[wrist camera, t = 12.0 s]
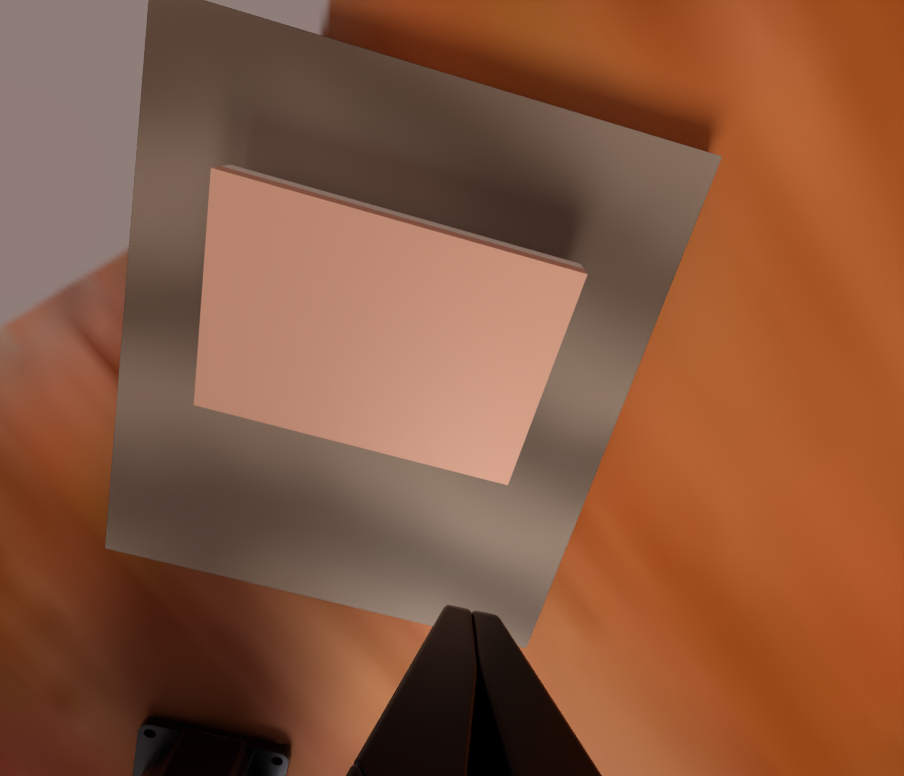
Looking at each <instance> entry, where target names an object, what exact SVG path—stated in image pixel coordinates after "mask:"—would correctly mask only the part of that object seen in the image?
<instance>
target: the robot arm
mask: <svg viewBox="0 0 904 776" xmlns="http://www.w3.org/2000/svg"><path fill="white" fill-rule="evenodd" d="M290 758H291V751H290V749H289V748H288V747H287V746H285V745H282V744H277V743H273V742H268V741H264V740H259V739H255V738H250V737H245V736H241V735H236V734H232V733H227V732H223V731H218V730H214V729H209V728H205V727H200V726H195V725H191V724H186V723H182V722H177V721H173V720H168V719H164V718H159V717H152V716H151V717H147V718H146V719H145V720H144V721H143V723H142V724H141V726H140V728H139V730H138V736H137V744H136V753H135V761H134V770H133V776H286V774H287V770H288V766H289V762H290ZM346 776H602V775H601V774H600V772H599V771H598V769H597V768H596V766H595V764H594V763H593V761H592V760H591V758H590V757H589V755H588V754H587V752H586V751H585V749H584V747H583V746H582V744H581V743H580V741H579V740H578V738H577V737H576V735H575V734H574V732H573V730H572V729H571V727H570V726H569V724H568V723H567V721H566V720H565V718H564V716H563V715H562V713H561V712H560V710H559V709H558V707H557V706H556V704H555V703H554V701H553V699H552V698H551V696H550V695H549V693H548V692H547V690H546V689H545V687H544V686H543V684H542V682H541V681H540V679H539V678H538V676H537V675H536V673H535V672H534V670H533V668H532V667H531V665H530V664H529V662H528V661H527V659H526V658H525V656H524V655H523V653H522V651H521V650H520V648H519V647H518V645H517V644H516V642H515V641H514V639H513V638H512V636H511V634H510V633H509V631H508V630H507V628H506V627H505V625H504V624H503V622H502V620H501V619H500V618H499V617H498V616H497V615H495V614H491V613H486V612H481V611H473V612H472V613H471V611H470V610H469V609H467V608H462V607H458V606H453V605H446V606H445V607H444V608H443V610H442V612H441V613H440V615H439V617H438V619H437V620H436V622H435V624H434V625H433V627H432V629H431V631H430V632H429V634H428V636H427V638H426V639H425V641H424V643H423V644H422V646H421V648H420V650H419V651H418V653H417V655H416V657H415V658H414V660H413V662H412V663H411V665H410V667H409V669H408V670H407V672H406V674H405V675H404V677H403V679H402V681H401V682H400V684H399V686H398V688H397V689H396V691H395V693H394V694H393V696H392V698H391V700H390V701H389V703H388V705H387V706H386V708H385V710H384V712H383V713H382V715H381V717H380V719H379V720H378V722H377V724H376V725H375V727H374V729H373V731H372V732H371V734H370V736H369V737H368V739H367V741H366V743H365V744H364V746H363V748H362V750H361V751H360V753H359V755H358V756H357V758H356V760H355V762H354V765H353V766H351V768H350V769H349V771H348V773H347V775H346Z"/></svg>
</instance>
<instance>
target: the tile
mask: <svg viewBox="0 0 904 776" xmlns="http://www.w3.org/2000/svg"><path fill="white" fill-rule="evenodd" d="M587 275H588V274H587V273H586V271H585V270H584V268H583V267H582V265H581V264H579V263H576V262H572V261H569V260H565V259H562V258H558V257H555V256H551V255H548V254H544V253H540V252H537V251H533V250H530V249H526V248H523V247H519V246H516V245H512V244H509V243H505V242H502V241H498V240H495V239H491V238H488V237H484V236H481V235H477V234H474V233H470V232H466V231H463V230H459V229H456V228H452V227H449V226H445V225H442V224H438V223H435V222H431V221H428V220H424V219H421V218H417V217H414V216H410V215H407V214H403V213H399V212H396V211H392V210H389V209H385V208H382V207H378V206H375V205H371V204H368V203H364V202H361V201H357V200H354V199H350V198H347V197H343V196H340V195H336V194H332V193H329V192H325V191H322V190H318V189H315V188H311V187H308V186H304V185H301V184H297V183H294V182H290V181H287V180H283V179H280V178H276V177H273V176H269V175H265V174H262V173H258V172H255V171H251V170H248V169H244V168H241V167H237V166H234V165H225V166H219V167H213V168H211V172H210V186H209V200H208V214H207V227H206V241H205V255H204V269H203V283H202V297H201V311H200V324H199V338H198V352H197V366H196V380H195V394H194V405H195V406H199V407H203V408H207V409H211V410H215V411H219V412H223V413H227V414H231V415H235V416H239V417H242V418H246V419H250V420H254V421H258V422H262V423H266V424H270V425H274V426H278V427H282V428H285V429H289V430H293V431H297V432H301V433H305V434H309V435H313V436H317V437H321V438H325V439H328V440H332V441H336V442H340V443H344V444H348V445H352V446H356V447H360V448H364V449H368V450H372V451H375V452H379V453H383V454H387V455H391V456H395V457H399V458H403V459H407V460H411V461H415V462H418V463H422V464H426V465H430V466H434V467H438V468H442V469H446V470H450V471H454V472H458V473H462V474H465V475H469V476H473V477H477V478H481V479H485V480H489V481H493V482H497V483H501V484H505V485H508V484H509V481H510V478H511V476H512V473H513V470H514V468H515V465H516V462H517V460H518V457H519V454H520V452H521V449H522V447H523V444H524V441H525V439H526V436H527V433H528V431H529V428H530V425H531V423H532V420H533V417H534V415H535V412H536V409H537V407H538V404H539V402H540V399H541V396H542V394H543V391H544V388H545V386H546V383H547V380H548V378H549V375H550V372H551V370H552V367H553V364H554V362H555V359H556V357H557V354H558V351H559V349H560V346H561V343H562V341H563V338H564V335H565V333H566V330H567V327H568V325H569V322H570V320H571V317H572V314H573V312H574V309H575V306H576V304H577V301H578V298H579V296H580V293H581V290H582V288H583V285H584V282H585V280H586V277H587Z"/></svg>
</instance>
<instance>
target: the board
mask: <svg viewBox="0 0 904 776" xmlns="http://www.w3.org/2000/svg"><path fill="white" fill-rule="evenodd" d="M721 158H722V156H719V155H716V154H713V153H709V152H706V151H703V150H699V149H696V148H693V147H689V146H686V145H683V144H679V143H676V142H673V141H669V140H666V139H663V138H660V137H656V136H653V135H650V134H646V133H643V132H640V131H636V130H633V129H630V128H626V127H623V126H620V125H616V124H613V123H610V122H606V121H603V120H600V119H596V118H593V117H590V116H586V115H583V114H580V113H577V112H573V111H570V110H567V109H563V108H560V107H557V106H553V105H550V104H547V103H543V102H540V101H537V100H533V99H530V98H527V97H523V96H520V95H517V94H513V93H510V92H507V91H503V90H500V89H497V88H494V87H490V86H487V85H484V84H480V83H477V82H474V81H470V80H467V79H464V78H460V77H457V76H454V75H450V74H447V73H444V72H440V71H437V70H434V69H430V68H427V67H424V66H420V65H417V64H414V63H411V62H407V61H404V60H401V59H397V58H394V57H391V56H387V55H384V54H381V53H377V52H374V51H371V50H367V49H364V48H361V47H357V46H354V45H351V44H347V43H344V42H341V41H337V40H334V39H331V38H328V37H324V36H321V35H318V34H314V33H311V32H307V31H304V30H301V29H297V28H294V27H291V26H288V25H284V24H281V23H278V22H274V21H271V20H267V19H264V18H261V17H258V16H254V15H251V14H248V13H244V12H241V11H238V10H235V9H231V8H228V7H225V6H221V5H218V4H214V3H211V2H208V1H204V0H149V3H148V14H147V27H146V40H145V52H144V65H143V77H142V91H141V103H140V116H139V128H138V141H137V153H136V166H135V179H134V191H133V205H132V216H131V229H130V241H129V254H128V266H127V279H126V292H125V304H124V317H123V329H122V342H121V355H120V367H119V380H118V392H117V405H116V418H115V430H114V443H113V456H112V468H111V481H110V493H109V506H108V519H107V531H106V544H105V548H106V549H110V550H114V551H118V552H122V553H127V554H131V555H135V556H139V557H144V558H148V559H152V560H156V561H160V562H165V563H169V564H173V565H177V566H181V567H186V568H190V569H194V570H198V571H203V572H207V573H211V574H215V575H219V576H224V577H228V578H232V579H236V580H241V581H245V582H249V583H253V584H257V585H262V586H266V587H270V588H274V589H278V590H283V591H287V592H291V593H295V594H300V595H304V596H308V597H312V598H316V599H321V600H325V601H329V602H333V603H337V604H342V605H346V606H350V607H354V608H359V609H363V610H367V611H371V612H375V613H380V614H384V615H388V616H392V617H396V618H401V619H405V620H409V621H413V622H418V623H422V624H426V625H430V626H433V625H434V624H435V622H436V620H437V619H438V617H439V615H440V613H441V612H442V610H443V608H444V607H445V606H446V605H453V606H458V607H462V608H467V609H469V610H470V611H471V613H472V612H473V611H481V612H486V613H491V614H495V615H497V616H498V617H499V618H500V619H501V620H502V622H503V624H504V625H505V627H506V628H507V630H508V631H509V633H510V634H511V636H512V638H513V639H514V641H515V642H516V644H517V645H518V646H519V647H523V648H526V647H527V644H528V642H529V639H530V637H531V634H532V632H533V629H534V627H535V624H536V622H537V619H538V617H539V614H540V612H541V609H542V607H543V604H544V602H545V599H546V597H547V594H548V592H549V589H550V587H551V584H552V582H553V579H554V577H555V574H556V572H557V569H558V567H559V564H560V562H561V559H562V557H563V554H564V552H565V549H566V547H567V544H568V542H569V539H570V537H571V534H572V532H573V529H574V527H575V524H576V522H577V519H578V517H579V514H580V512H581V509H582V507H583V504H584V502H585V499H586V497H587V494H588V492H589V489H590V486H591V484H592V481H593V479H594V476H595V474H596V471H597V469H598V466H599V464H600V461H601V459H602V456H603V454H604V451H605V449H606V446H607V444H608V441H609V439H610V436H611V434H612V431H613V429H614V426H615V424H616V421H617V419H618V416H619V414H620V411H621V409H622V406H623V404H624V401H625V399H626V396H627V394H628V391H629V389H630V386H631V384H632V381H633V379H634V376H635V374H636V371H637V369H638V366H639V364H640V361H641V359H642V356H643V354H644V351H645V349H646V346H647V344H648V341H649V339H650V336H651V334H652V331H653V329H654V326H655V324H656V321H657V319H658V316H659V314H660V311H661V308H662V306H663V303H664V301H665V298H666V296H667V293H668V291H669V288H670V286H671V283H672V281H673V278H674V276H675V273H676V271H677V268H678V266H679V263H680V261H681V258H682V256H683V253H684V251H685V248H686V246H687V243H688V241H689V238H690V236H691V233H692V231H693V228H694V226H695V223H696V221H697V218H698V216H699V213H700V211H701V208H702V206H703V203H704V201H705V198H706V196H707V193H708V191H709V188H710V186H711V183H712V181H713V178H714V176H715V173H716V171H717V168H718V166H719V163H720V161H721ZM225 165H234V166H237V167H241V168H244V169H248V170H251V171H255V172H258V173H262V174H265V175H269V176H273V177H276V178H280V179H283V180H287V181H290V182H294V183H297V184H301V185H304V186H308V187H311V188H315V189H318V190H322V191H325V192H329V193H332V194H336V195H340V196H343V197H347V198H350V199H354V200H357V201H361V202H364V203H368V204H371V205H375V206H378V207H382V208H385V209H389V210H392V211H396V212H399V213H403V214H407V215H410V216H414V217H417V218H421V219H424V220H428V221H431V222H435V223H438V224H442V225H445V226H449V227H452V228H456V229H459V230H463V231H466V232H470V233H474V234H477V235H481V236H484V237H488V238H491V239H495V240H498V241H502V242H505V243H509V244H512V245H516V246H519V247H523V248H526V249H530V250H533V251H537V252H540V253H544V254H548V255H551V256H555V257H558V258H562V259H565V260H569V261H572V262H576V263H579V264H581V265H582V267H583V268H584V270H585V271H586V273H587V274H588V275H587V277H586V280H585V282H584V285H583V288H582V290H581V293H580V296H579V298H578V301H577V304H576V306H575V309H574V312H573V314H572V317H571V320H570V322H569V325H568V327H567V330H566V333H565V335H564V338H563V341H562V343H561V346H560V349H559V351H558V354H557V357H556V359H555V362H554V364H553V367H552V370H551V372H550V375H549V378H548V380H547V383H546V386H545V388H544V391H543V394H542V396H541V399H540V402H539V404H538V407H537V409H536V412H535V415H534V417H533V420H532V423H531V425H530V428H529V431H528V433H527V436H526V439H525V441H524V444H523V447H522V449H521V452H520V454H519V457H518V460H517V462H516V465H515V468H514V470H513V473H512V476H511V478H510V481H509V484H508V485H505V484H501V483H497V482H493V481H489V480H485V479H481V478H477V477H473V476H469V475H465V474H462V473H458V472H454V471H450V470H446V469H442V468H438V467H434V466H430V465H426V464H422V463H418V462H415V461H411V460H407V459H403V458H399V457H395V456H391V455H387V454H383V453H379V452H375V451H372V450H368V449H364V448H360V447H356V446H352V445H348V444H344V443H340V442H336V441H332V440H328V439H325V438H321V437H317V436H313V435H309V434H305V433H301V432H297V431H293V430H289V429H285V428H282V427H278V426H274V425H270V424H266V423H262V422H258V421H254V420H250V419H246V418H242V417H239V416H235V415H231V414H227V413H223V412H219V411H215V410H211V409H207V408H203V407H199V406H195V405H194V394H195V380H196V366H197V352H198V338H199V324H200V311H201V297H202V283H203V269H204V255H205V241H206V227H207V214H208V200H209V186H210V172H211V168H213V167H219V166H225Z"/></svg>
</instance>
